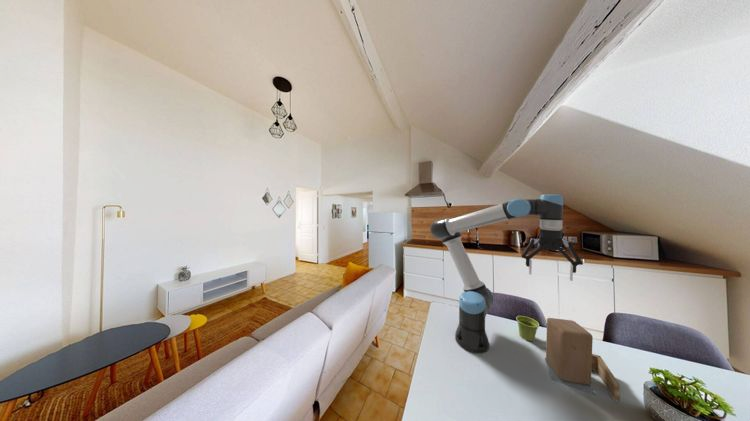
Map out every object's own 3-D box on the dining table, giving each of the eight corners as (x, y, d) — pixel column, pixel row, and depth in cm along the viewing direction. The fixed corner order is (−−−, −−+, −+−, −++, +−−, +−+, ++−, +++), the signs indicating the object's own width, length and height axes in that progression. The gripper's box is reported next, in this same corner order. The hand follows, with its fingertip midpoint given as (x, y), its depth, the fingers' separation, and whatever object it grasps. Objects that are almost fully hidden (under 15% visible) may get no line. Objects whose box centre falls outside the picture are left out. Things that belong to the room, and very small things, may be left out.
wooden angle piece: (554, 378, 77) (554, 363, 76) (545, 353, 90) (546, 340, 89) (619, 401, 68) (619, 385, 67) (599, 370, 80) (600, 356, 80)
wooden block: (560, 381, 75) (562, 331, 74) (544, 361, 85) (545, 316, 84) (592, 387, 73) (594, 335, 72) (572, 365, 82) (573, 319, 82)
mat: (551, 379, 76) (551, 378, 76) (544, 358, 86) (544, 357, 86) (595, 394, 70) (595, 394, 70) (582, 370, 80) (582, 370, 80)
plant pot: (539, 336, 101) (539, 320, 100) (538, 346, 94) (539, 329, 93) (516, 329, 107) (517, 313, 106) (514, 338, 100) (515, 321, 99)
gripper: (516, 228, 89) (515, 273, 90) (595, 232, 76) (593, 285, 77) (515, 226, 96) (514, 269, 96) (587, 230, 82) (585, 279, 83)
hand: (549, 276), depth 86 cm, fingers open, 13 cm apart
